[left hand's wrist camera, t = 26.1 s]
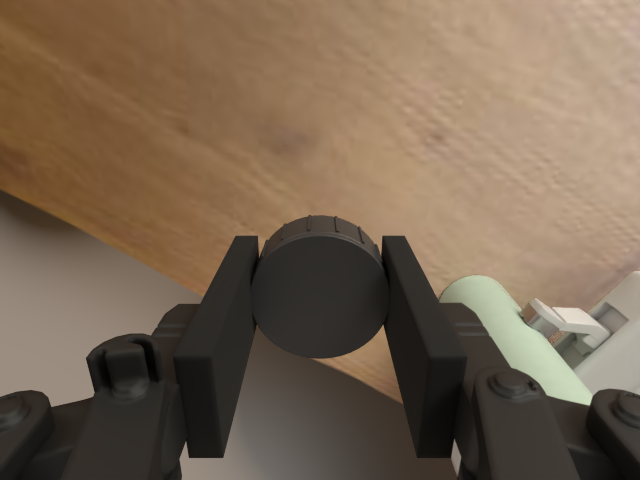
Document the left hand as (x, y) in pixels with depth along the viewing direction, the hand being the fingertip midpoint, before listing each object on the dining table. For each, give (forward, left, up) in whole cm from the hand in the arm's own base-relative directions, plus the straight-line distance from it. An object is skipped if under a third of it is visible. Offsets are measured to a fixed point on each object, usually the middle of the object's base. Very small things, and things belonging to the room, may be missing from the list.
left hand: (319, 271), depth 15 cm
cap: (0, 0, +2) cm, 2 cm away
